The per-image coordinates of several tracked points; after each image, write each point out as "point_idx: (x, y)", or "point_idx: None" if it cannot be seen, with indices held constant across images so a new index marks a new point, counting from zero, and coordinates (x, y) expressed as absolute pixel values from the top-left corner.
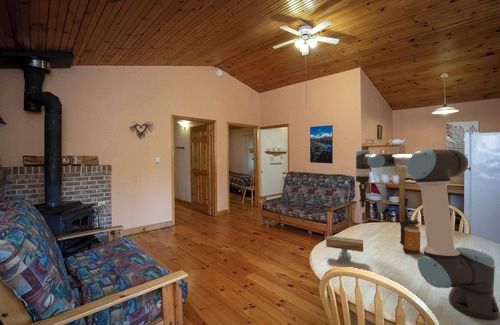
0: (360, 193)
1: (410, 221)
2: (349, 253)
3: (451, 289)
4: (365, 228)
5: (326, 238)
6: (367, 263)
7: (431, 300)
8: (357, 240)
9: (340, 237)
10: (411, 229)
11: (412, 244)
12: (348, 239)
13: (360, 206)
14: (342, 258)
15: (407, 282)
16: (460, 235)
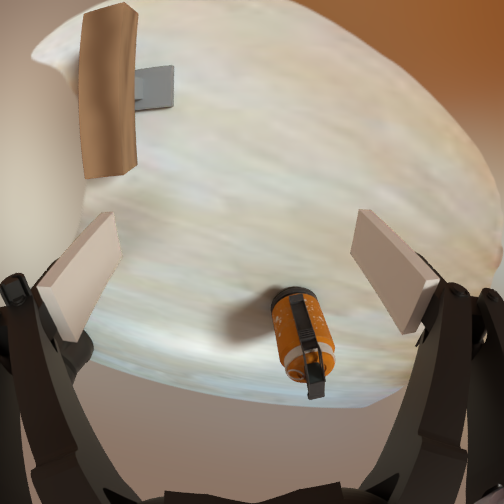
0: (437, 341)
1: (308, 385)
2: (165, 104)
3: (58, 333)
4: (472, 193)
5: (85, 14)
6: (129, 171)
7: None
8: (107, 150)
9: (118, 63)
10: (286, 365)
11: (275, 326)
12: (103, 106)
13: (72, 247)
14: None
15: None
16: (404, 379)
